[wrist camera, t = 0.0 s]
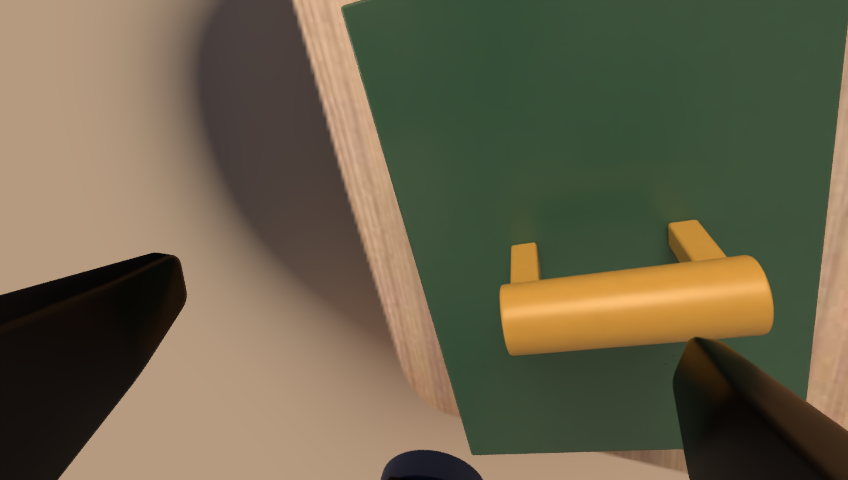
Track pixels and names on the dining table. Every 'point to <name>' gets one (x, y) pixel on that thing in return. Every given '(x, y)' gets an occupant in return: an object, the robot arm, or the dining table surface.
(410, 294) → the dining table surface
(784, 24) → the tin lid
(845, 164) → the dining table surface
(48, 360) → the robot arm
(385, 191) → the dining table surface
